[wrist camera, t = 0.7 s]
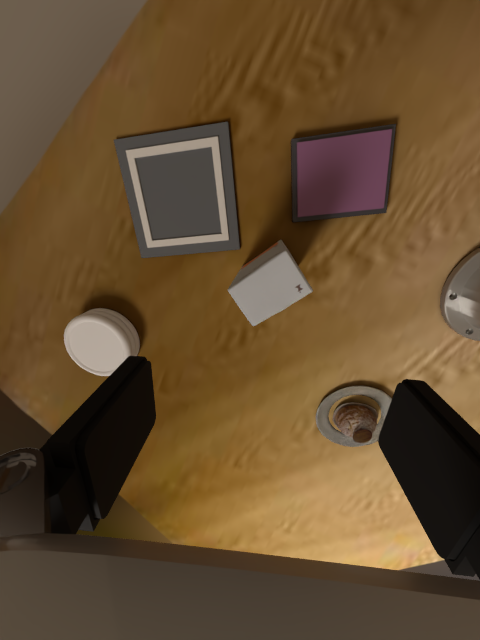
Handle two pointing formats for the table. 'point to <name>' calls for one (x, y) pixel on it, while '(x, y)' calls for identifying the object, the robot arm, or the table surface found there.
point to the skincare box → (268, 284)
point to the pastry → (353, 417)
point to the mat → (181, 190)
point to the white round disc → (101, 340)
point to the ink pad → (341, 173)
